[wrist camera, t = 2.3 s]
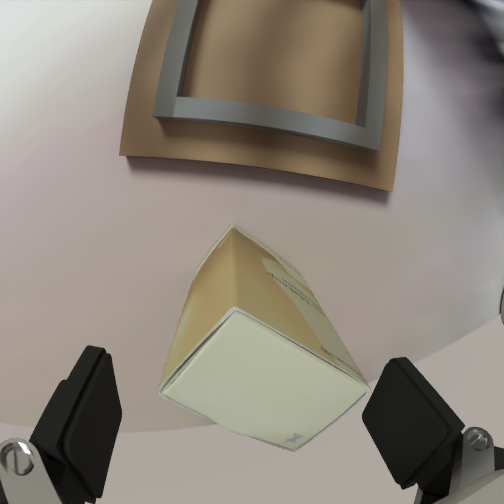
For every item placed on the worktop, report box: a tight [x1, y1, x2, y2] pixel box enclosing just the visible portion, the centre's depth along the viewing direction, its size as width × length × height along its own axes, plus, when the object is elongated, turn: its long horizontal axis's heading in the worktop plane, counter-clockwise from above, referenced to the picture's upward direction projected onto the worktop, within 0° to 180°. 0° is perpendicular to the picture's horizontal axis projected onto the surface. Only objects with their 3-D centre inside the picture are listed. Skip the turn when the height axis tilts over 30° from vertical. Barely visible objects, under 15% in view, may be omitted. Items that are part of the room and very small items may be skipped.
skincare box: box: [158, 224, 370, 452], centre depth 14 cm, size 6×4×12 cm
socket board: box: [119, 0, 403, 192], centre depth 14 cm, size 18×18×3 cm
